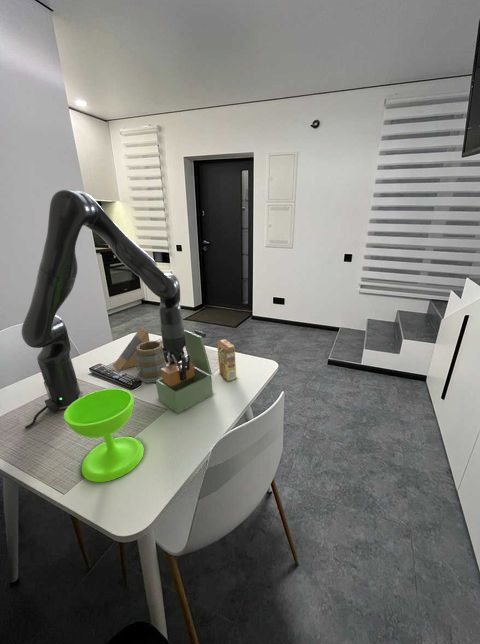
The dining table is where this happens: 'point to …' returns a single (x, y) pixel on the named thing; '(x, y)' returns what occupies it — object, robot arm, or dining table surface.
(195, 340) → the lid
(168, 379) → the orange-brown rectangular block
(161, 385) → the bin
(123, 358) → the sandwich container
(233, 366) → the candy box
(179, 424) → the dining table surface
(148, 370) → the tankard
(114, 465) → the wineglass
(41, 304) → the robot arm
